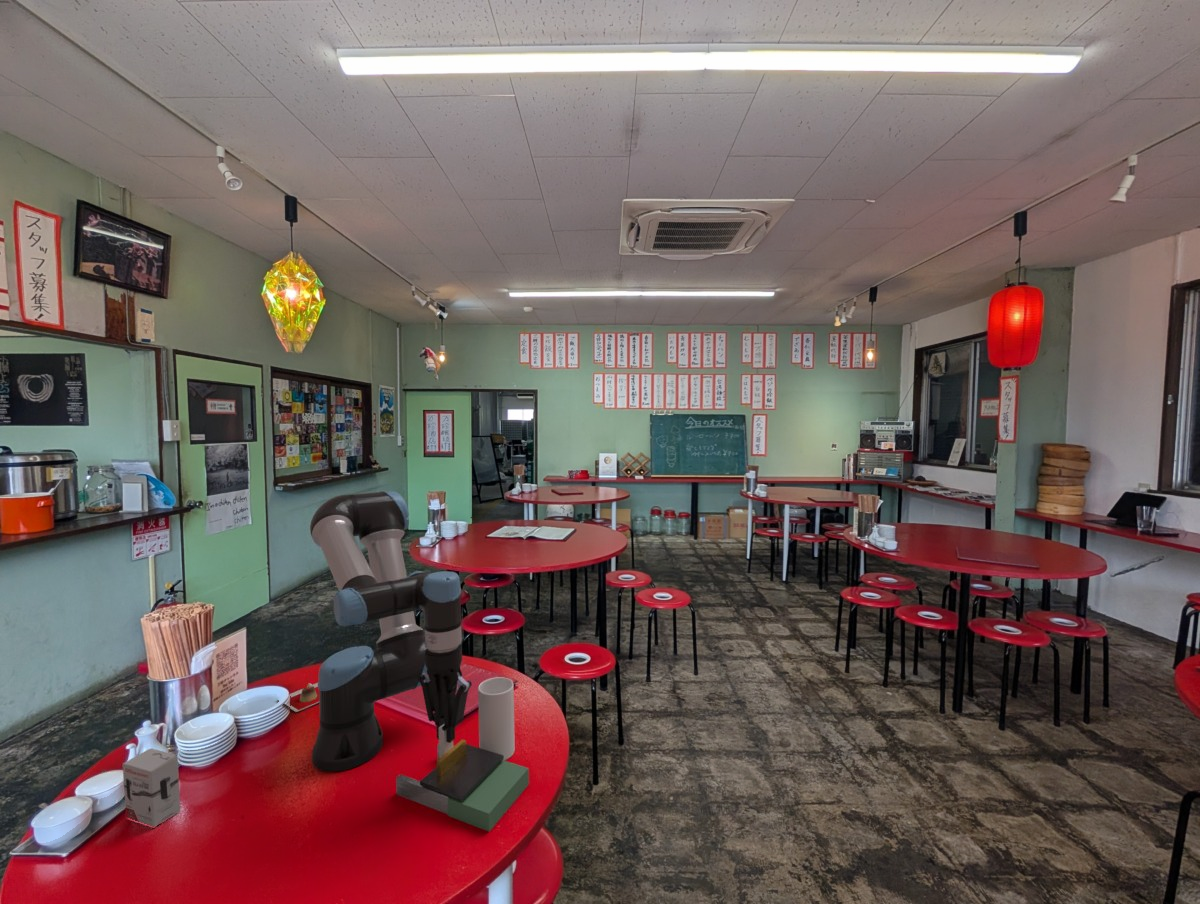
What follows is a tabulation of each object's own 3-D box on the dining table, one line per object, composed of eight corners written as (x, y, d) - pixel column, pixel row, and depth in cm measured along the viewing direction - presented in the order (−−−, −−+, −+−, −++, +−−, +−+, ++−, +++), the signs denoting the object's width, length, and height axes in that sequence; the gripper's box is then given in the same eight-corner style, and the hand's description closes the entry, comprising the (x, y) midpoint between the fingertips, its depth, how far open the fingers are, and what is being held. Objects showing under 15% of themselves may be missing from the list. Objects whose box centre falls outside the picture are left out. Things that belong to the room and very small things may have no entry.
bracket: (396, 794, 104) (396, 777, 104) (441, 756, 116) (440, 741, 116) (448, 814, 98) (448, 796, 98) (490, 772, 111) (489, 756, 110)
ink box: (123, 820, 98) (121, 762, 97) (153, 802, 103) (150, 747, 102) (153, 830, 95) (150, 770, 95) (181, 811, 100) (179, 754, 100)
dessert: (296, 716, 135) (295, 698, 135) (276, 703, 142) (275, 686, 142) (340, 696, 145) (339, 680, 145) (319, 685, 152) (319, 670, 152)
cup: (518, 741, 122) (517, 677, 121) (509, 763, 113) (507, 695, 113) (486, 740, 122) (484, 676, 122) (474, 761, 114) (473, 693, 114)
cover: (419, 785, 101) (419, 766, 101) (463, 746, 113) (463, 730, 113) (462, 800, 97) (462, 781, 96) (503, 758, 109) (503, 742, 109)
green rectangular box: (447, 815, 98) (447, 798, 98) (490, 771, 111) (490, 756, 111) (489, 831, 94) (488, 813, 94) (529, 784, 107) (528, 768, 107)
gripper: (407, 648, 105) (410, 757, 106) (455, 658, 100) (458, 773, 100) (432, 635, 112) (435, 738, 113) (479, 644, 107) (482, 752, 107)
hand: (446, 754), depth 106 cm, fingers closed
